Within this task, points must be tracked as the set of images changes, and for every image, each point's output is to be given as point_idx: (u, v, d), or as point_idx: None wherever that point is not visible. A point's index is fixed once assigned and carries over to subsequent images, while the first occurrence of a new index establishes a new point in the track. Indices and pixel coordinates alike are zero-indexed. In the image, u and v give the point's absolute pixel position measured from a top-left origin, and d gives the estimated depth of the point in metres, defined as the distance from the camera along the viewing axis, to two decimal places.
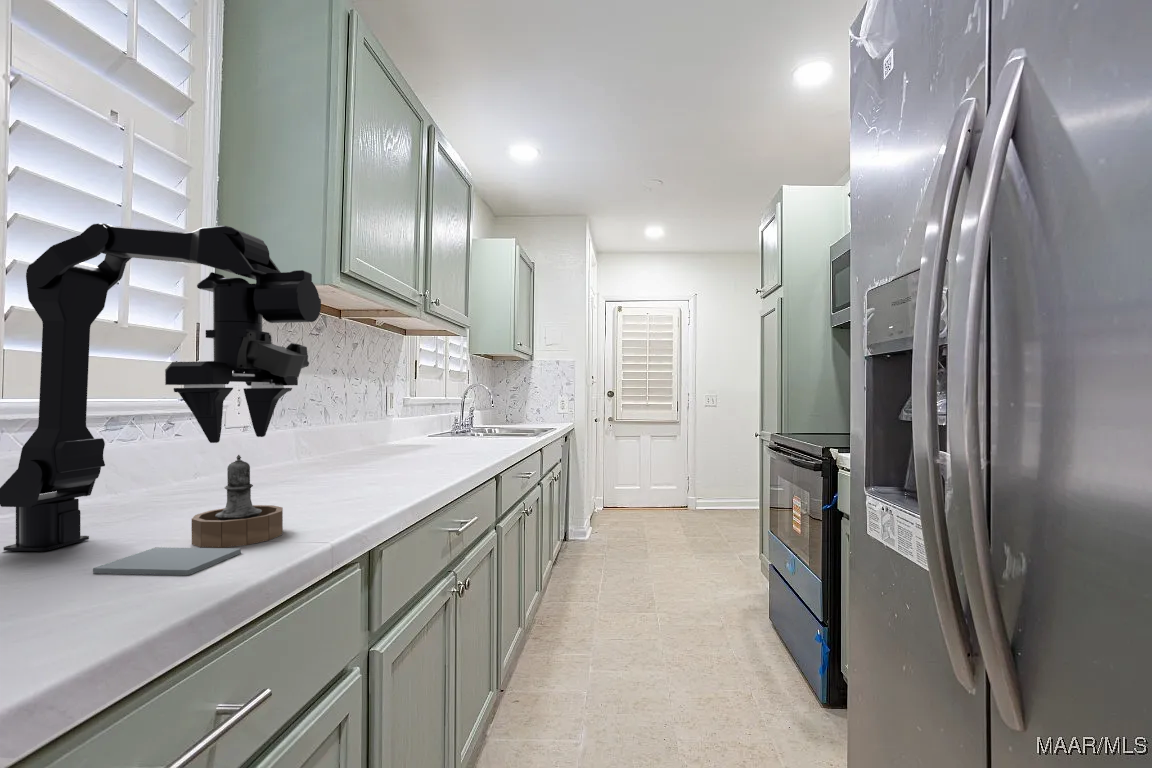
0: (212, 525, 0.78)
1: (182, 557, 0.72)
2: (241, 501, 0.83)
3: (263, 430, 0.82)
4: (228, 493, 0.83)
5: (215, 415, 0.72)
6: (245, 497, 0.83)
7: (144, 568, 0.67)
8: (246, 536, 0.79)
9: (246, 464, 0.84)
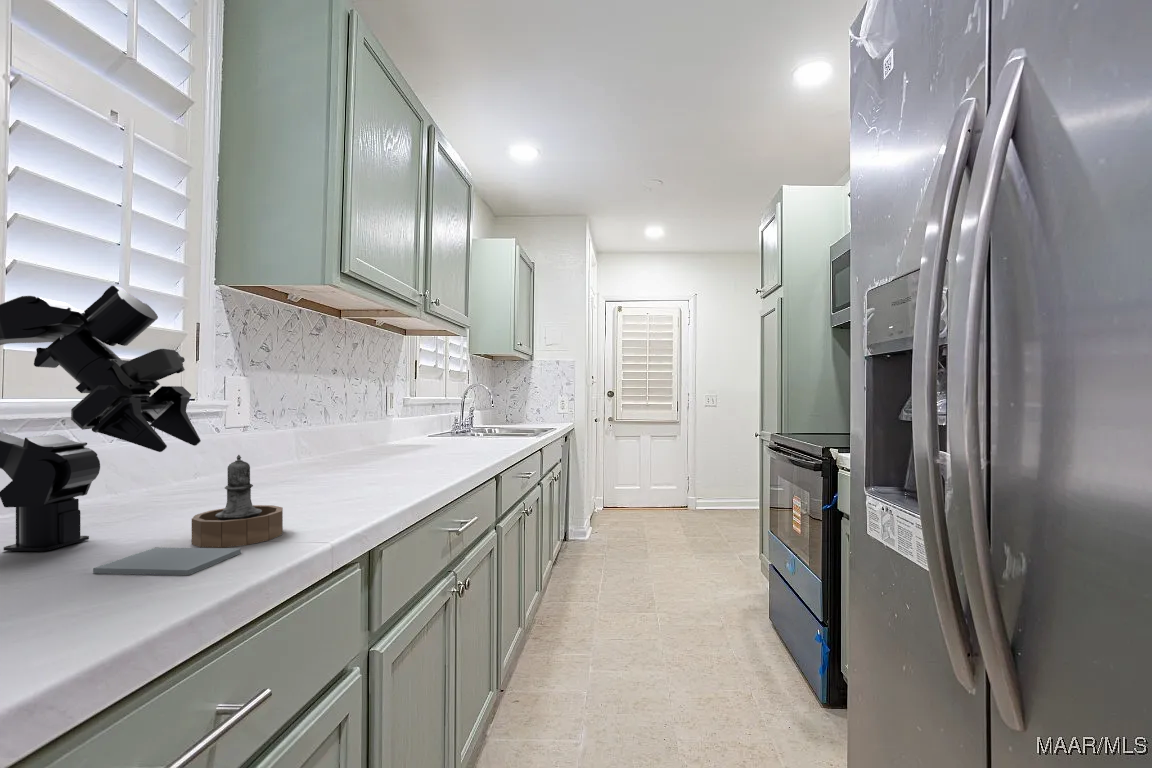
0: (212, 525, 0.78)
1: (182, 557, 0.72)
2: (241, 501, 0.83)
3: (195, 436, 0.87)
4: (228, 493, 0.83)
5: (145, 426, 0.77)
6: (245, 497, 0.83)
7: (144, 568, 0.67)
8: (246, 536, 0.79)
9: (246, 464, 0.84)
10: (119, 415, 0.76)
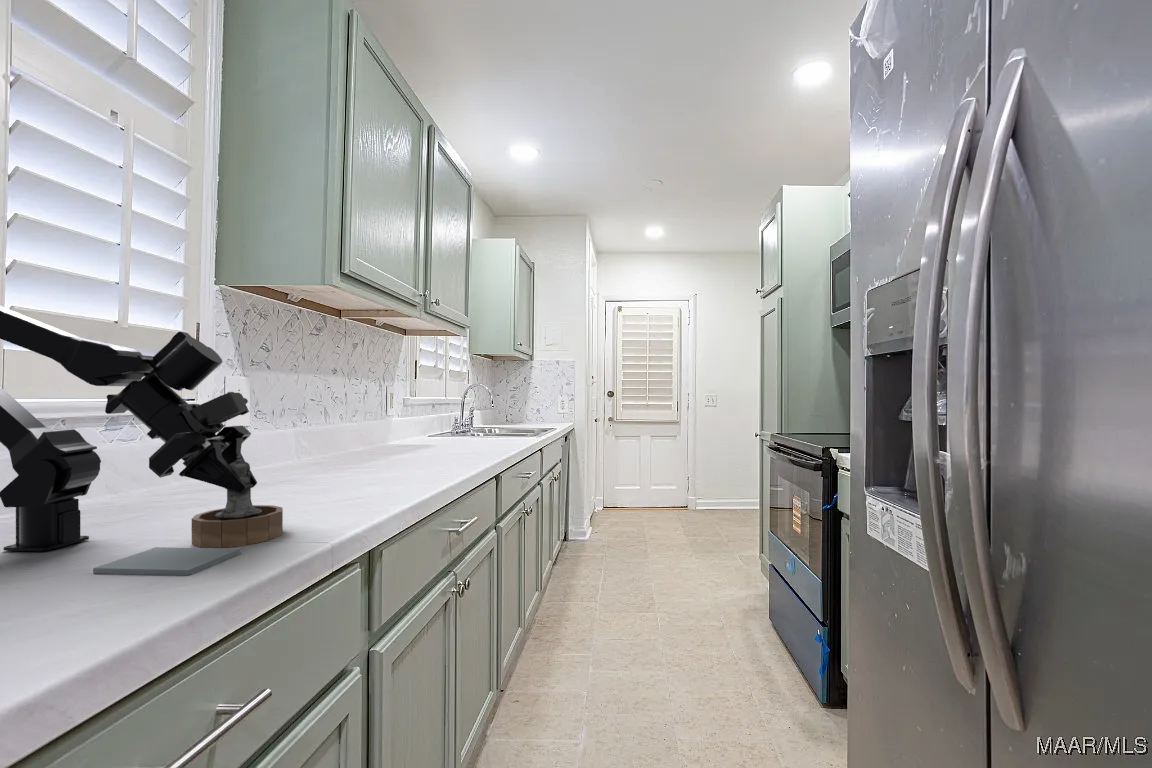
0: (212, 525, 0.78)
1: (182, 557, 0.72)
2: (241, 501, 0.83)
3: (252, 479, 0.86)
4: (228, 493, 0.83)
5: (226, 469, 0.81)
6: (245, 497, 0.83)
7: (144, 568, 0.67)
8: (246, 536, 0.79)
9: (246, 464, 0.84)
10: (203, 459, 0.80)
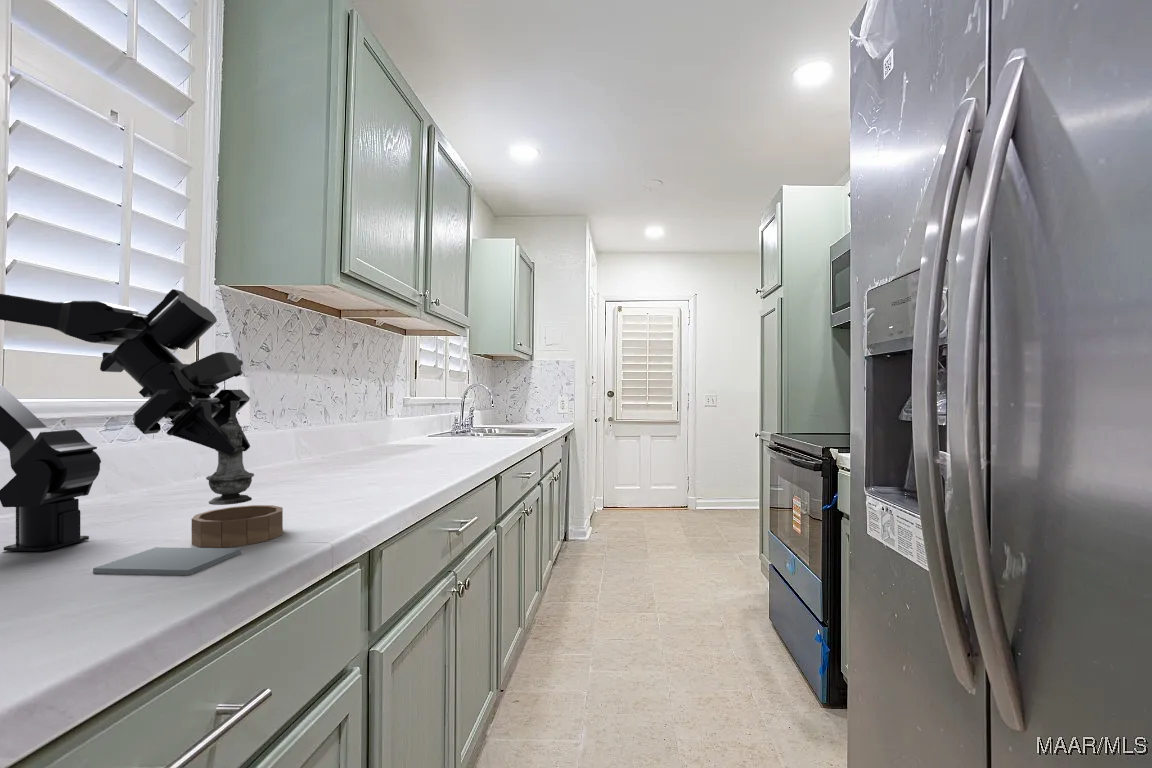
0: (212, 525, 0.78)
1: (182, 557, 0.72)
2: (232, 464, 0.81)
3: (245, 442, 0.84)
4: (219, 455, 0.81)
5: (215, 429, 0.79)
6: (236, 460, 0.81)
7: (144, 568, 0.67)
8: (246, 536, 0.79)
9: (237, 426, 0.82)
10: (191, 418, 0.78)
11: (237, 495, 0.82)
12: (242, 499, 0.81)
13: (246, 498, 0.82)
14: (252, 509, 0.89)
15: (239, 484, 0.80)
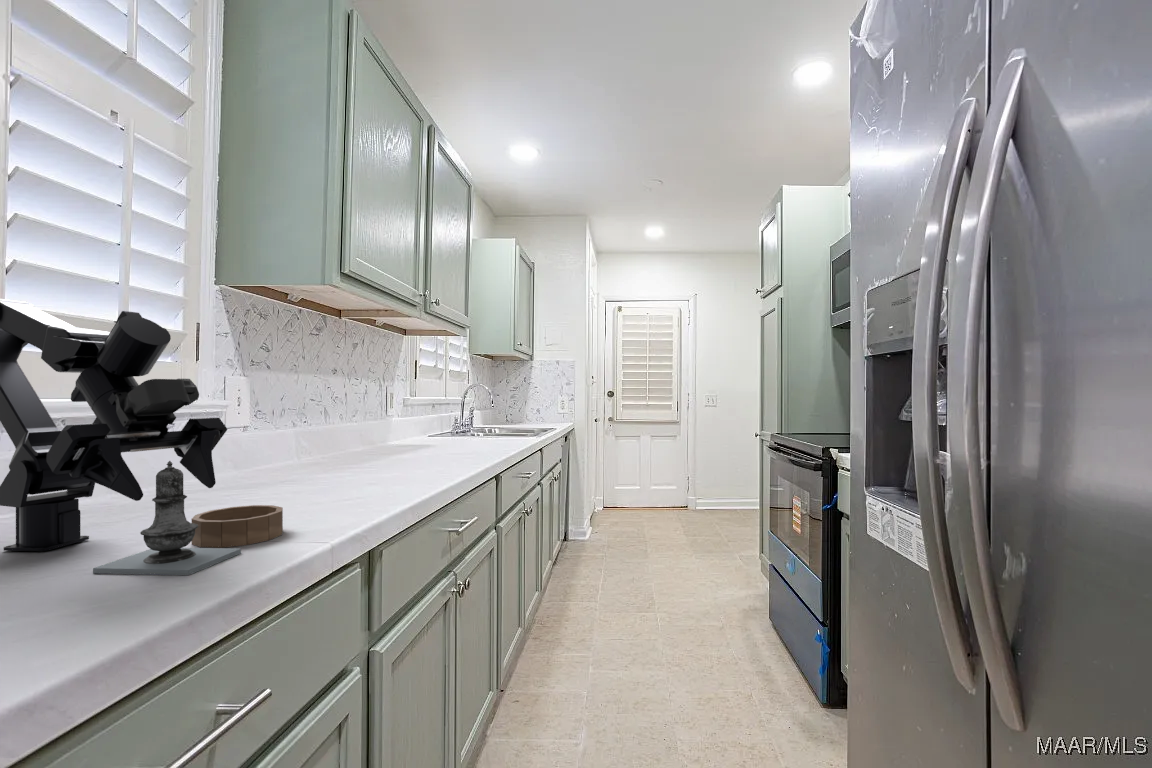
0: (212, 525, 0.78)
1: None
2: (164, 516, 0.70)
3: (210, 478, 0.75)
4: (155, 505, 0.71)
5: (119, 471, 0.66)
6: (169, 512, 0.70)
7: (144, 568, 0.67)
8: (246, 536, 0.79)
9: (173, 472, 0.71)
10: (96, 458, 0.67)
11: (173, 552, 0.71)
12: (174, 558, 0.70)
13: (181, 556, 0.71)
14: (252, 509, 0.89)
15: (167, 541, 0.69)
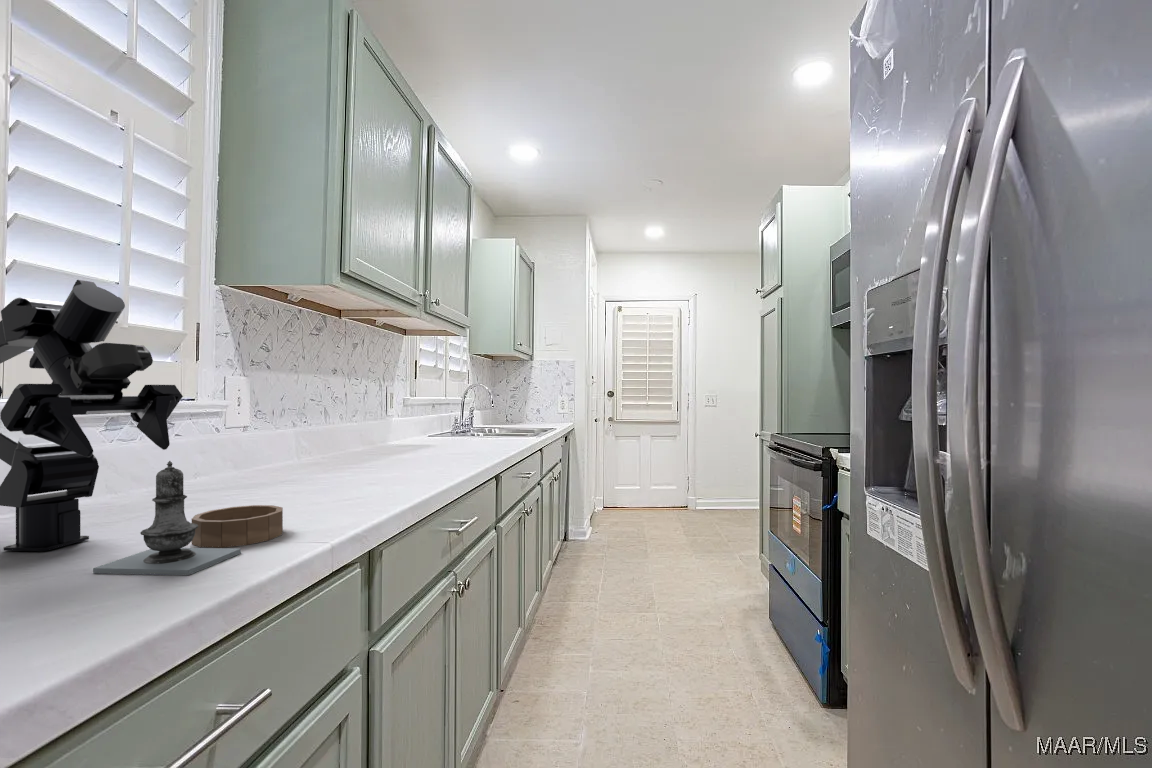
0: (212, 525, 0.78)
1: None
2: (164, 516, 0.70)
3: (164, 440, 0.79)
4: (155, 505, 0.71)
5: (70, 428, 0.70)
6: (169, 512, 0.70)
7: (144, 568, 0.67)
8: (246, 536, 0.79)
9: (173, 472, 0.71)
10: (47, 416, 0.70)
11: (173, 552, 0.71)
12: (174, 558, 0.70)
13: (181, 556, 0.71)
14: (252, 509, 0.89)
15: (167, 541, 0.69)
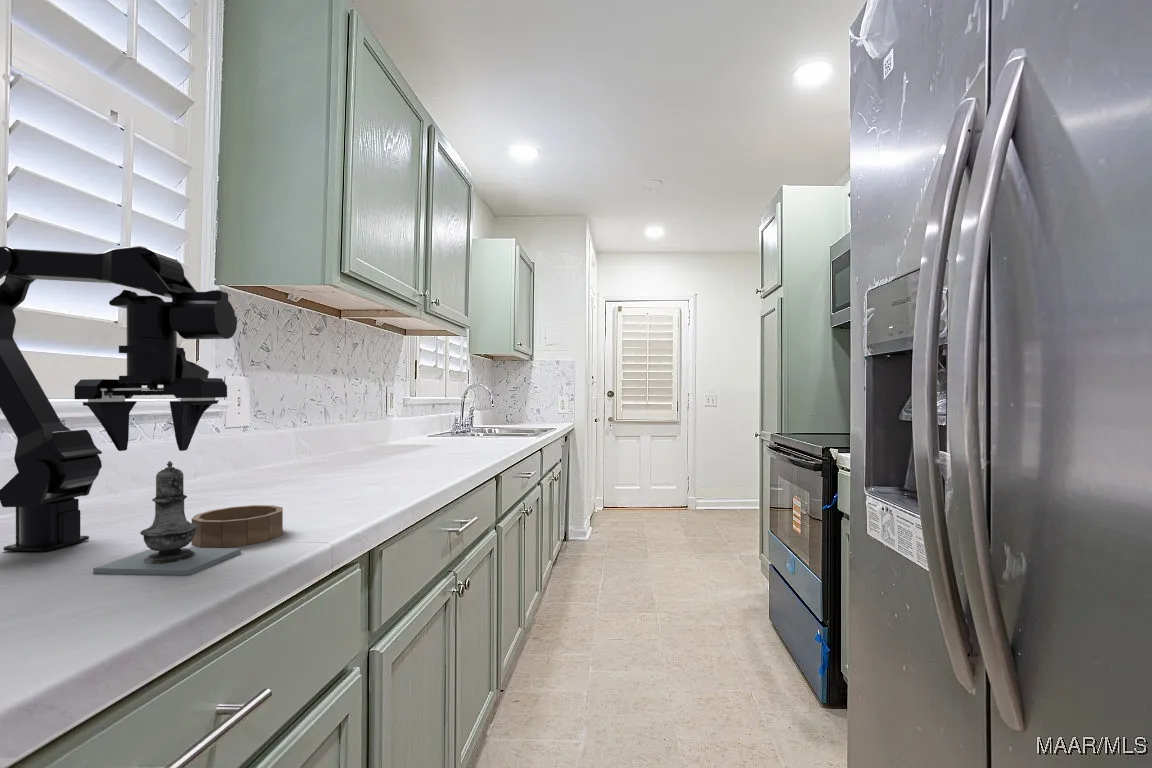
0: (212, 525, 0.78)
1: None
2: (164, 516, 0.70)
3: (126, 443, 0.82)
4: (155, 505, 0.71)
5: (195, 425, 0.82)
6: (169, 512, 0.70)
7: (144, 568, 0.67)
8: (246, 536, 0.79)
9: (173, 473, 0.71)
10: (197, 404, 0.81)
11: (173, 552, 0.71)
12: (174, 558, 0.70)
13: (181, 556, 0.71)
14: (252, 509, 0.89)
15: (167, 541, 0.69)
